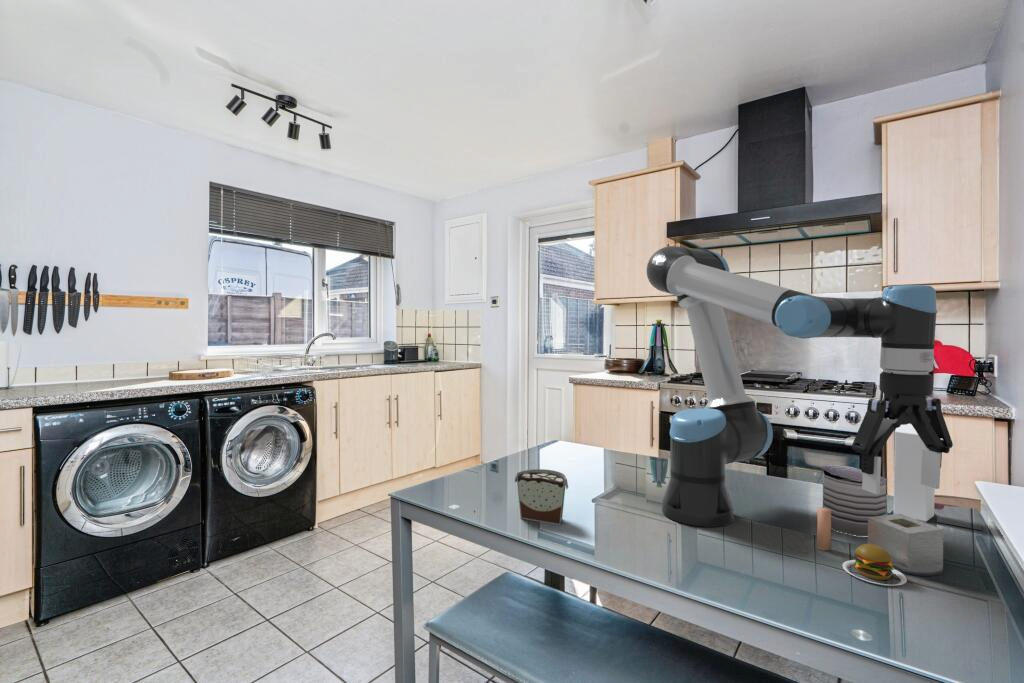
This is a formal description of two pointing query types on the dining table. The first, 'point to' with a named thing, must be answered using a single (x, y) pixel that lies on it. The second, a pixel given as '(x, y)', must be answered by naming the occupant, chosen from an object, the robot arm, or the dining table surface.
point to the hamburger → (874, 564)
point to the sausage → (824, 529)
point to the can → (851, 499)
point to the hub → (920, 569)
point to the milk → (910, 476)
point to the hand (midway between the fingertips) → (900, 489)
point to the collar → (907, 539)
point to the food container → (541, 495)
